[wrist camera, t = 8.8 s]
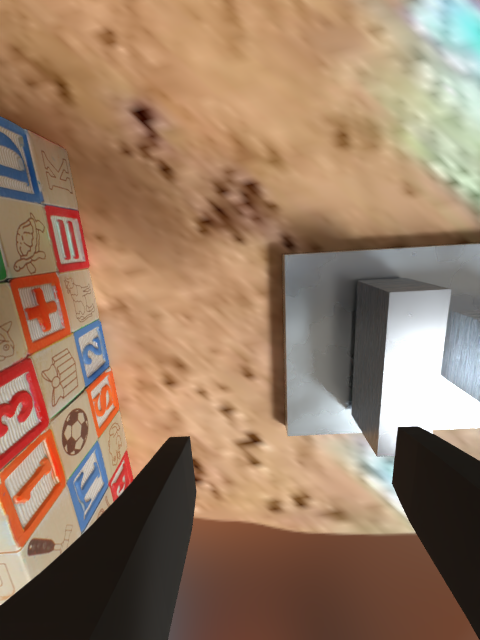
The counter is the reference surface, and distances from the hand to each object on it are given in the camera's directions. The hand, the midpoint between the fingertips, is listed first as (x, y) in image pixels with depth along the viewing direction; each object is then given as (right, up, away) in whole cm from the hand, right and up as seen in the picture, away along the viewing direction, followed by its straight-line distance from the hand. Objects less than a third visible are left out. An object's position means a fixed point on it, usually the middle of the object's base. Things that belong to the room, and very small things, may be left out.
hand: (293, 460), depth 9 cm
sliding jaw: (+6, +3, +8) cm, 10 cm away
